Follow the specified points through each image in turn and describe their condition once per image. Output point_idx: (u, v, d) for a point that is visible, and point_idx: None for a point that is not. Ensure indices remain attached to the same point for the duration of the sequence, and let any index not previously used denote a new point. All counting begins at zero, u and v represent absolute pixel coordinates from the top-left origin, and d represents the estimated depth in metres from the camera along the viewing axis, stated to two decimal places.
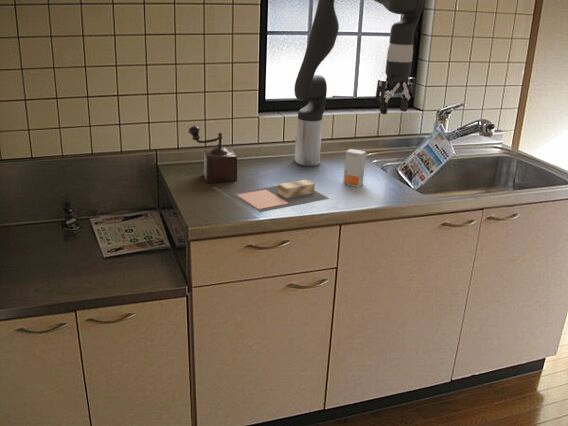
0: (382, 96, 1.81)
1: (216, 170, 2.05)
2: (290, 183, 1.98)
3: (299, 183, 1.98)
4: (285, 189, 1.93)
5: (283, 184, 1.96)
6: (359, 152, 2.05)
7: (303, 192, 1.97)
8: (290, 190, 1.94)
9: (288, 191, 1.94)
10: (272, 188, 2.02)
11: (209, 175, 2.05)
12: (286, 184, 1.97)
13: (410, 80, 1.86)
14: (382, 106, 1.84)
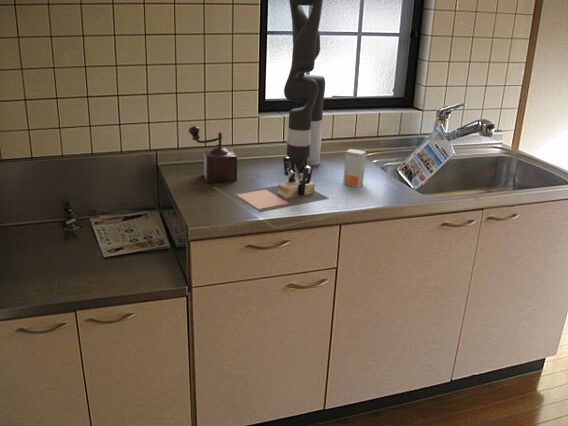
0: None
1: (216, 170, 2.05)
2: (290, 183, 1.98)
3: None
4: (285, 189, 1.93)
5: (283, 184, 1.96)
6: (359, 152, 2.05)
7: None
8: (290, 190, 1.94)
9: (288, 191, 1.94)
10: (272, 188, 2.02)
11: (209, 175, 2.05)
12: (286, 184, 1.97)
13: None
14: (303, 188, 1.95)
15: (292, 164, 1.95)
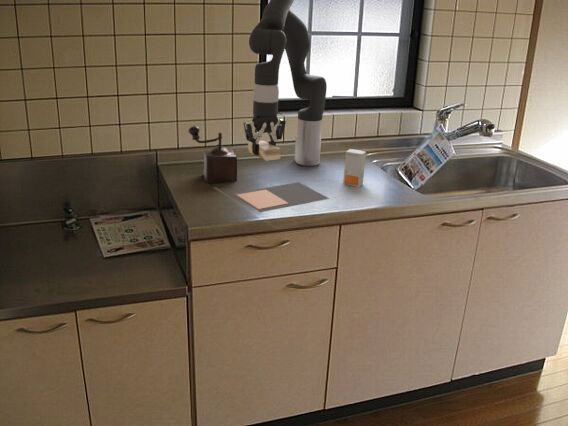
0: None
1: (216, 170, 2.05)
2: (263, 146, 1.83)
3: (263, 144, 1.86)
4: (278, 150, 1.82)
5: (267, 149, 1.81)
6: (359, 152, 2.05)
7: None
8: None
9: None
10: (272, 188, 2.02)
11: (209, 175, 2.05)
12: (266, 148, 1.82)
13: None
14: None
15: None
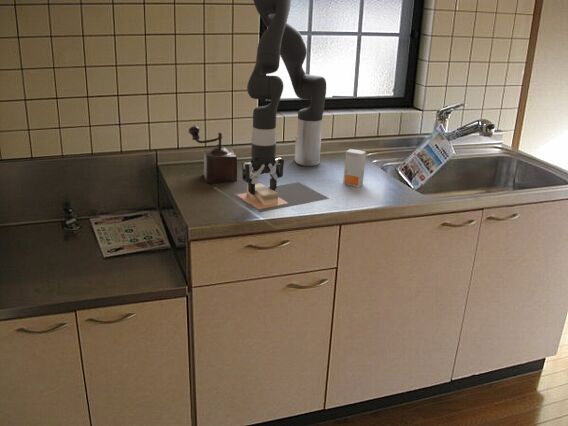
0: None
1: (216, 170, 2.05)
2: (261, 191, 1.89)
3: (261, 188, 1.92)
4: (276, 195, 1.88)
5: (265, 194, 1.87)
6: (359, 152, 2.05)
7: None
8: None
9: None
10: None
11: (209, 175, 2.05)
12: (264, 193, 1.88)
13: None
14: None
15: None
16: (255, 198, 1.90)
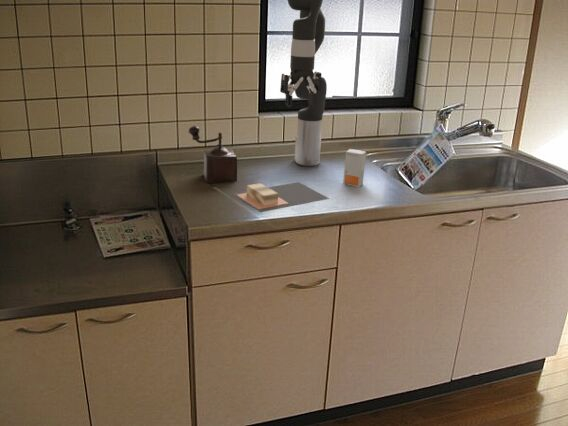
0: None
1: (216, 170, 2.05)
2: (261, 191, 1.89)
3: (261, 188, 1.92)
4: (276, 195, 1.88)
5: (265, 194, 1.87)
6: (359, 152, 2.05)
7: None
8: None
9: None
10: (272, 188, 2.02)
11: (209, 175, 2.05)
12: (264, 193, 1.88)
13: None
14: None
15: None
16: (255, 198, 1.90)
